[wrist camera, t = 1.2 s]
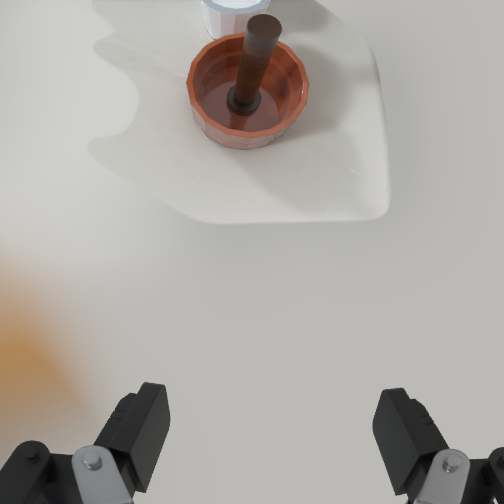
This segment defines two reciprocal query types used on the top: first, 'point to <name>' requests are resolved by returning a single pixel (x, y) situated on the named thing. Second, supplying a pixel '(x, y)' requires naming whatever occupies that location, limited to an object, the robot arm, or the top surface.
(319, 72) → the top surface
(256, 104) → the brown wooden pestle
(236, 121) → the bowl
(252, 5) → the white cylinder
